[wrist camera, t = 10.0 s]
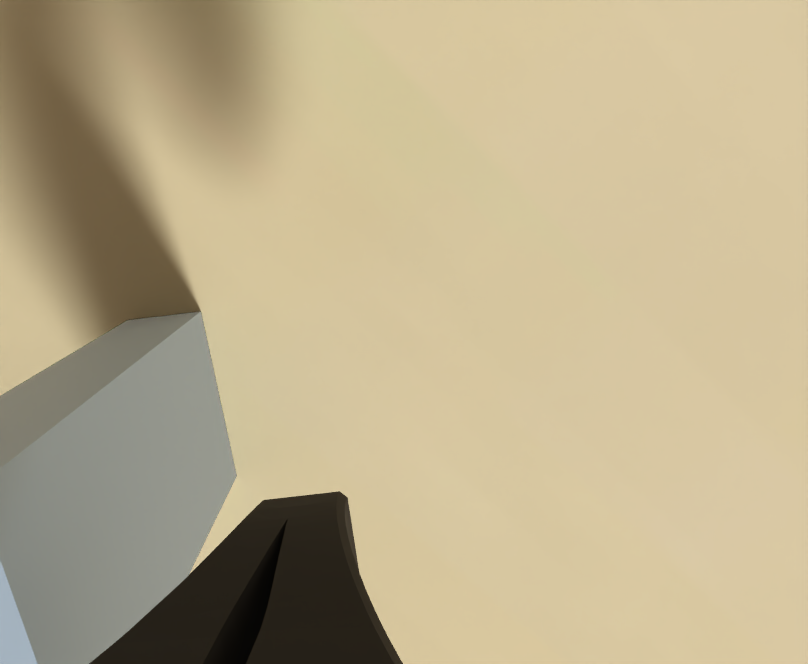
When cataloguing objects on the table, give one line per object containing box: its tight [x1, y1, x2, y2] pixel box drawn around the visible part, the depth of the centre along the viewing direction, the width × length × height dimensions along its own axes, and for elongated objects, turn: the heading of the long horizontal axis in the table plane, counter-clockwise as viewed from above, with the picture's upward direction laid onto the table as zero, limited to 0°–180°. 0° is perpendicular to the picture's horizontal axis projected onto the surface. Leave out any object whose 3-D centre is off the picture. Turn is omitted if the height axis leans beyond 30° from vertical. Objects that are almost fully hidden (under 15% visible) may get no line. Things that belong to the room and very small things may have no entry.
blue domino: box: [0, 311, 237, 664], centre depth 12 cm, size 5×2×9 cm, turn 7°
